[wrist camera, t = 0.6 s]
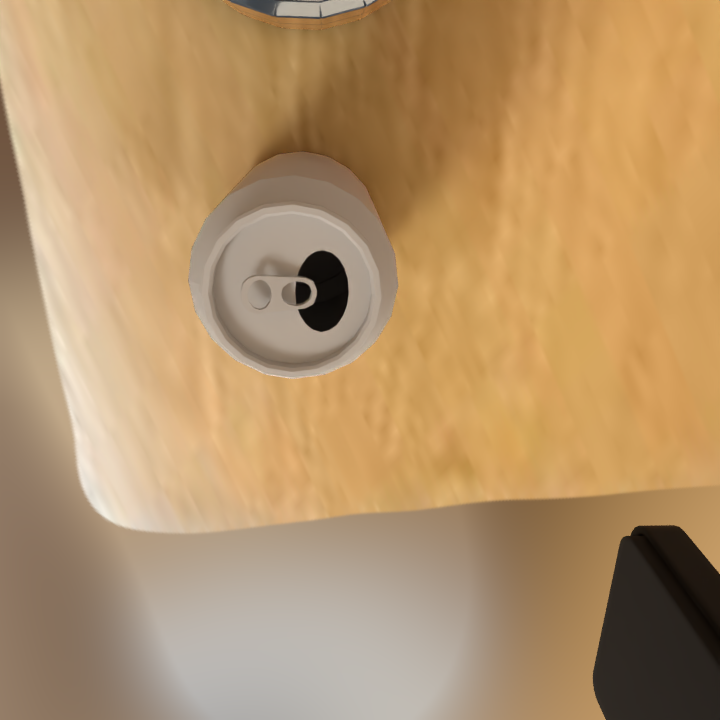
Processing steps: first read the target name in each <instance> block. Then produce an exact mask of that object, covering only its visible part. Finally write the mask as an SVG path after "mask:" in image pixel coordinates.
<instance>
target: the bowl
mask: <svg viewBox="0 0 720 720" xmlns="http://www.w3.org/2000/svg"><path fill="white" fill-rule="evenodd" d="M222 1H223V2H224V3H226V4H227V5H229V6H230V7H232V8H233V9H235V10H236V11H238V12H239V13H241V14H244V15H245V16H247V17H250V18H253V19H256V20H259V21H262V22H265V23H268V24H271V25H274V26H277V27H280V28H282V27H283V28H287V29H313V30H321V29H327V28H331V27H335V26H339V25H342V24H346V23H350V22H354V21H358V20H360V19H362V18H364V17H366V16H367V15H369V14H371V13H372V12H374V11H376V10H377V9H379V8H381V7H382V6H384V5H386V4H387V3H389V2H391V1H392V0H222Z"/></svg>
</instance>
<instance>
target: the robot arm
mask: <svg viewBox="0 0 720 720" xmlns="http://www.w3.org/2000/svg"><path fill="white" fill-rule="evenodd" d="M593 686H594V691H595V695H596V698H597V701H598V703H599V705H600V708H601V710H602V712H603V714H604V717H605V719H606V720H720V574H719V573H718V571H717V570H716V569H715V568H714V567H713V566H712V564H711V563H710V562H709V561H708V559H707V558H706V557H705V556H704V555H703V554H702V552H701V551H700V550H699V549H698V547H697V546H696V545H695V544H694V543H693V541H692V540H691V539H690V538H689V537H688V535H687V534H686V533H685V532H684V531H683V530H682V529H681V528H680V527H677V526H674V525H673V526H671V525H669V526H638V527H635V528H634V530H633V531H632V533H631V536H625V537H623V538H622V540H621V542H620V546H619V550H618V556H617V560H616V565H615V570H614V574H613V579H612V584H611V589H610V594H609V599H608V603H607V608H606V614H605V618H604V623H603V627H602V632H601V637H600V642H599V647H598V652H597V656H596V661H595V666H594V671H593Z"/></svg>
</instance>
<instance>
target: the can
mask: <svg viewBox="0 0 720 720" xmlns="http://www.w3.org/2000/svg"><path fill="white" fill-rule="evenodd" d="M188 281H189V285H190V290H191V294H192V299H193V303H194V308H195V312H196V313H197V315H198V317H199V318H200V320H201V322H202V324H203V325H204V327H205V329H206V330H207V332H208V334H209V335H210V337H211V339H212V340H213V341H214V342H216V343H217V344H218V345H219V346H220V347H221V348H222V349H223V350H224V351H226V352H227V353H228V354H229V355H230V356H231V357H232V358H233V359H234V360H236V361H238V362H240V363H242V364H244V365H246V366H248V367H251V368H253V369H255V370H257V371H259V372H261V373H263V374H266V375H272V376H278V377H284V378H290V379H295V378H303V377H310V376H318V375H325V374H327V373H329V372H332V371H334V370H336V369H338V368H341V367H343V366H345V365H347V364H350V363H352V362H353V361H354V360H356V359H357V358H358V357H359V356H360V355H361V354H362V353H364V352H365V351H366V350H367V349H368V348H369V347H370V346H372V345H373V344H374V343H375V342H376V340H377V339H378V337H379V335H380V334H381V332H382V330H383V329H384V327H385V325H386V324H387V322H388V320H389V319H390V317H391V315H392V310H393V306H394V302H395V297H396V293H397V288H398V279H397V269H396V259H395V253H394V250H393V248H392V246H391V243H390V241H389V239H388V236H387V234H386V232H385V229H384V227H383V225H382V222H381V220H380V218H379V215H378V213H377V211H376V208H375V206H374V204H373V202H372V199H371V197H370V195H369V193H368V191H367V188H366V187H365V186H364V184H363V183H362V182H361V181H360V180H359V179H358V178H357V177H356V175H355V174H354V173H353V172H352V171H351V170H350V169H349V168H347V167H346V166H344V165H342V164H340V163H339V162H337V161H335V160H333V159H332V158H330V157H328V156H324V155H319V154H314V153H309V152H305V151H301V152H293V153H285V154H278V155H276V156H274V157H272V158H270V159H268V160H266V161H264V162H262V163H260V164H258V165H256V166H255V167H254V168H253V169H252V170H251V171H250V172H249V173H248V174H247V175H246V176H245V177H244V178H243V179H242V180H241V181H240V182H239V183H238V184H237V185H236V186H235V187H234V188H233V189H232V191H231V192H230V193H229V194H228V195H227V196H226V197H225V198H224V199H223V200H222V201H221V203H220V204H219V205H218V206H217V207H216V208H215V209H214V210H213V211H212V212H211V213H210V214H209V216H208V217H207V218H206V219H205V221H204V223H203V225H202V228H201V230H200V232H199V234H198V236H197V238H196V240H195V242H194V245H193V247H192V251H191V260H190V269H189V279H188Z"/></svg>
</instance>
